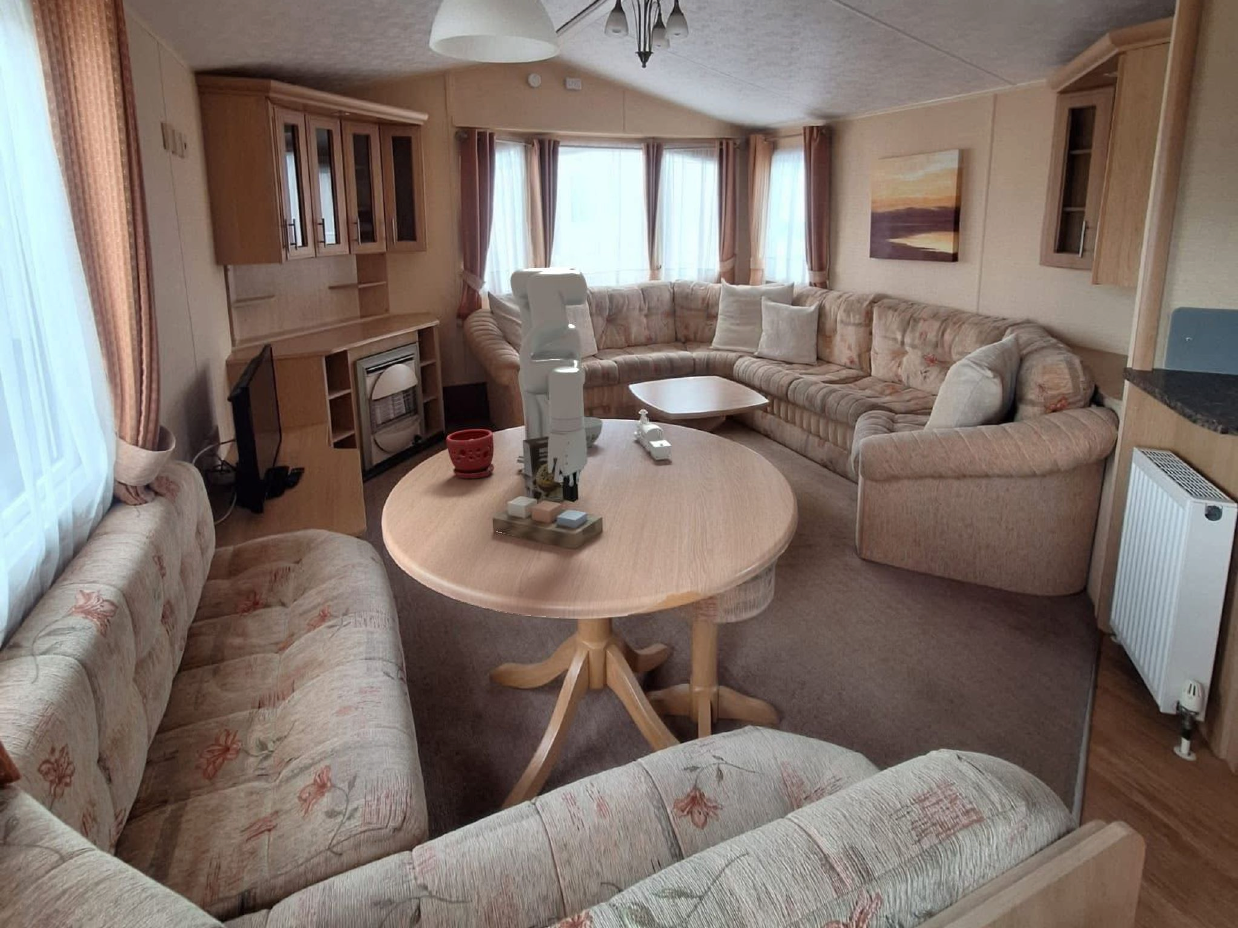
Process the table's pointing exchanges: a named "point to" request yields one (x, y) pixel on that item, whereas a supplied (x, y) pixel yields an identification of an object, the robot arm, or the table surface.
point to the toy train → (652, 438)
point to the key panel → (548, 529)
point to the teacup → (592, 429)
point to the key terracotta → (546, 511)
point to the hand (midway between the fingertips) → (570, 499)
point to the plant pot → (471, 452)
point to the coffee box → (539, 472)
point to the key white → (521, 506)
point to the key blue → (572, 518)
